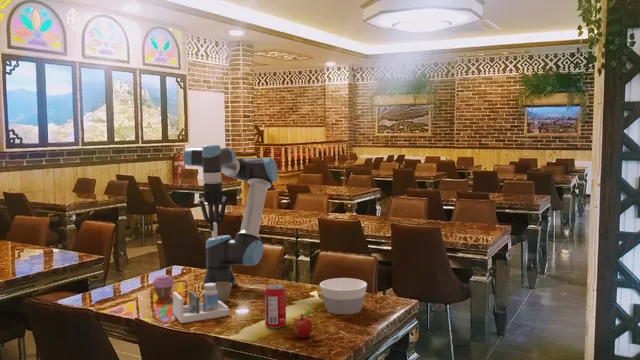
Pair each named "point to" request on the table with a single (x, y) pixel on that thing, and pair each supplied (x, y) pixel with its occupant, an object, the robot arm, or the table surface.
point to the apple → (303, 325)
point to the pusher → (193, 303)
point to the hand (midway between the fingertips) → (214, 238)
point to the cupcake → (163, 286)
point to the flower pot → (223, 290)
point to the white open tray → (189, 317)
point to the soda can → (275, 306)
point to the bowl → (343, 295)
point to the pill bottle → (210, 297)
